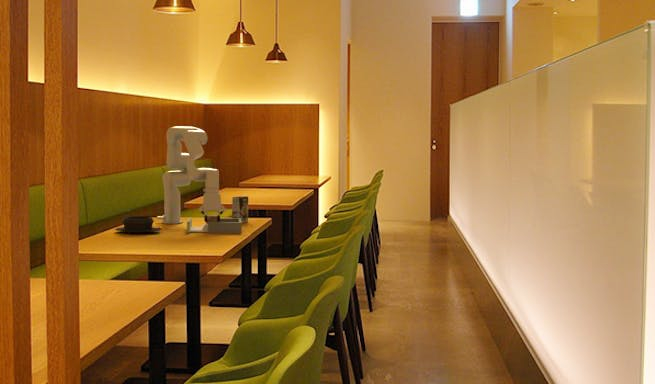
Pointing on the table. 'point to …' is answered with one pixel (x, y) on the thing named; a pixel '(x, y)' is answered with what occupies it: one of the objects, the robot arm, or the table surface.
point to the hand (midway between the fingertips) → (212, 222)
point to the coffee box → (240, 208)
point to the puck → (211, 218)
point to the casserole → (138, 225)
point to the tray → (196, 229)
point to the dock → (225, 226)
